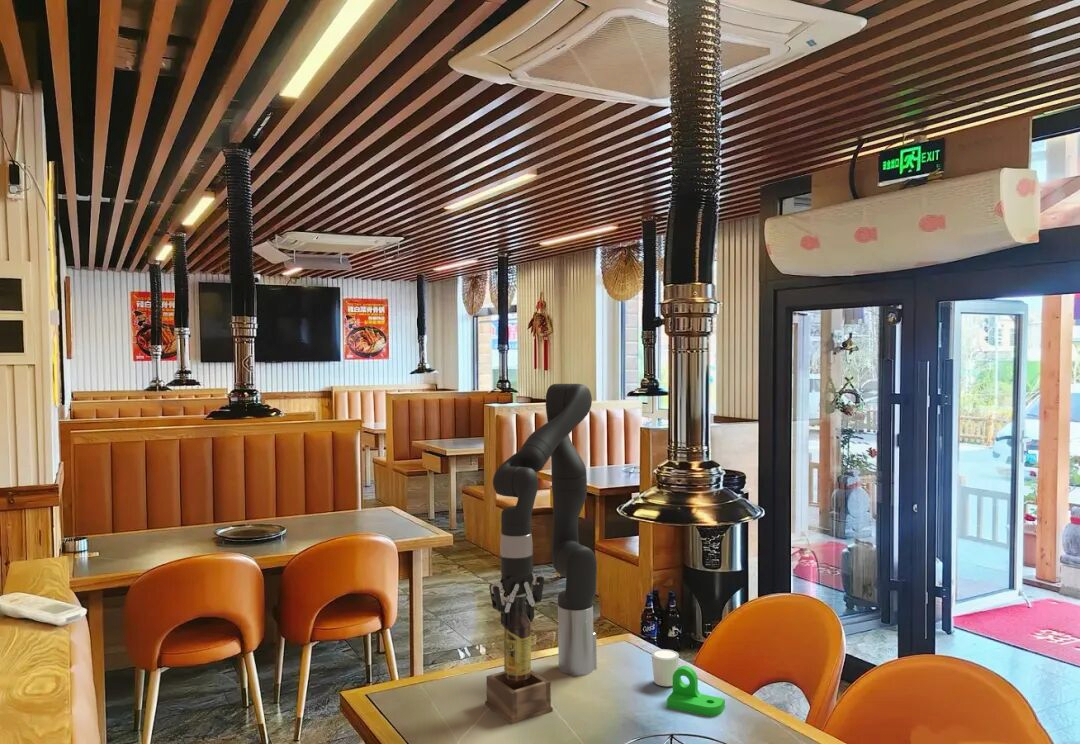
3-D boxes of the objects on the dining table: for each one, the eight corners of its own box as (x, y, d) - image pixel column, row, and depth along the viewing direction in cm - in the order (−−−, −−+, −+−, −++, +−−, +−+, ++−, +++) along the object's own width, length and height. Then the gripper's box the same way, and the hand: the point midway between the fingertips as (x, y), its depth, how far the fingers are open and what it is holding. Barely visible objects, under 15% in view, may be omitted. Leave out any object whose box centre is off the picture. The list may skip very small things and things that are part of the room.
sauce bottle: (500, 674, 183) (499, 590, 182) (525, 669, 185) (523, 587, 185) (510, 685, 177) (509, 599, 176) (535, 680, 179) (534, 595, 179)
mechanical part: (667, 706, 182) (666, 673, 182) (675, 696, 187) (675, 663, 187) (717, 718, 176) (717, 683, 176) (724, 707, 181) (724, 673, 181)
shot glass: (662, 673, 200) (662, 646, 200) (684, 681, 195) (684, 653, 195) (646, 681, 195) (645, 654, 195) (668, 690, 190) (668, 661, 190)
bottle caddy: (524, 693, 189) (523, 664, 189) (552, 712, 179) (552, 682, 179) (485, 705, 183) (484, 676, 183) (512, 725, 173) (511, 694, 173)
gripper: (533, 544, 187) (534, 613, 188) (481, 553, 179) (482, 626, 180) (551, 550, 181) (552, 622, 182) (498, 560, 173) (499, 635, 174)
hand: (517, 624), depth 181 cm, fingers closed on sauce bottle, 5 cm apart
